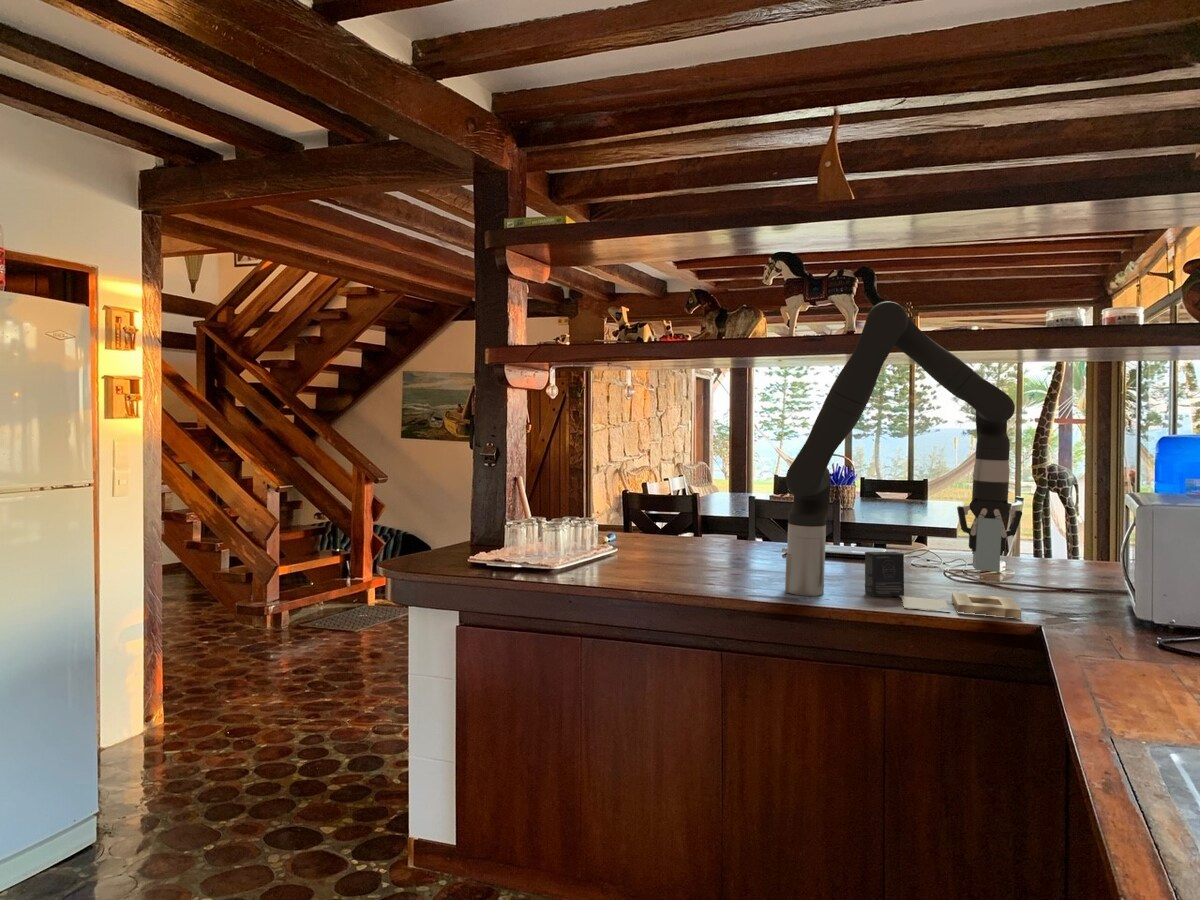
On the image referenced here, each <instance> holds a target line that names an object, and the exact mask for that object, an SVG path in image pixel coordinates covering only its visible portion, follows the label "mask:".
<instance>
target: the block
mask: <svg viewBox="0 0 1200 900" xmlns="http://www.w3.org/2000/svg"><path fill="white" fill-rule="evenodd" d="M977 518H978V517H977ZM977 518H976V520H977ZM1002 521H1003V519H996V518H981V517H980V518H978V524H977V533H976V551H975V552H973V551H972V567H973V569H975V570H976V571H984V572H985V571H986V572H997V573H998V572H1000V567H1001V566H1000V565H1001V564H1000V563H1001V554H1000V550H1001V533H1002Z"/></svg>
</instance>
